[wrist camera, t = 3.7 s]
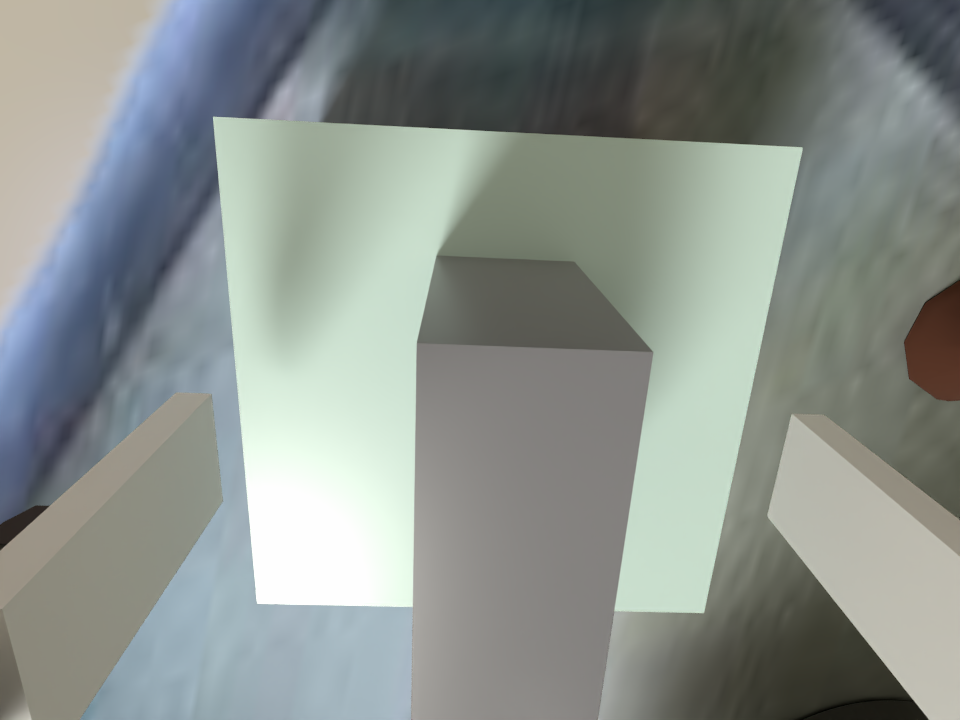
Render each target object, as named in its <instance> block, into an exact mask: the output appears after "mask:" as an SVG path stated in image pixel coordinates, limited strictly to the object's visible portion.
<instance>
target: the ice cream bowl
mask: <svg viewBox="0 0 960 720" xmlns="http://www.w3.org/2000/svg"><path fill="white" fill-rule="evenodd" d="M904 344H905V352H906V359H907V366H908V374H909V379H910V380H912V381H913V382H914V383H916V384H917V385H918V386H920V387H921V388H922V389H924V390H925V391H926V392H928V393H929V394H931V395H932V396H933V397H935V398H936V399H939V400H946V401H957V400H960V280H959V281H958V282H956V283H955V284H953V285H952V286H950V287H949V288H947V289H946V290H944V291H943V292H941V293H940V294H938V295H937V296H935V297H934V298H932V299H931V300H929V301H928V302H926V303H925V304H924V306H923V308H922V310H921V312H920V314H919V316H918V317H917V319H916V321H915V323H914V325H913V327H912V329H911V330H910V332H909V334H908V336H907V338H906V340H905V342H904Z"/></svg>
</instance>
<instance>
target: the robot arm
mask: <svg viewBox="0 0 960 720" xmlns="http://www.w3.org/2000/svg"><path fill="white" fill-rule="evenodd" d="M222 502H223V497H222V488H221V479H220V469H219V460H218V450H217V441H216V432H215V422H214V413H213V404H212V394H202V393H175V394H174V395H173V396H172V397H171V398H170V399H169V400H167V401H166V402H165V403H164V404H163V405H162V406H161V407H160V408H159V409H157V410H156V411H155V412H154V413H153V414H152V415H151V416H150V417H149V418H147V419H146V420H145V421H144V422H143V423H142V424H141V425H140V426H138V427H137V428H136V429H135V430H134V431H133V432H132V433H131V434H130V435H128V436H127V437H126V438H125V439H124V440H123V441H122V442H121V443H120V444H118V445H117V446H116V447H115V448H114V449H113V450H112V451H111V452H110V453H108V454H107V455H106V456H105V457H104V458H103V459H102V460H101V461H99V462H98V463H97V464H96V465H95V466H94V467H93V468H92V469H91V470H89V471H88V472H87V473H86V474H85V475H84V476H83V477H82V478H81V479H79V480H78V481H77V482H76V483H75V484H74V485H73V486H72V487H71V488H69V489H68V490H67V491H66V492H65V493H64V494H63V495H62V496H60V497H59V498H58V499H57V500H56V501H55V502H54V503H53V504H52V505H50V506H34V507H32V508H30V509H28V510H26V511H24V512H22V513H21V514H19V515H17V516H15V517H13V518H11V519H9V520H7V521H5V522H3V523H2V524H1V525H0V720H80V718H81V717H82V715H83V714H84V712H85V711H86V709H87V708H88V706H89V704H90V703H91V701H92V700H93V698H94V697H95V695H96V694H97V692H98V691H99V689H100V688H101V686H102V685H103V683H104V682H105V680H106V679H107V677H108V676H109V674H110V672H111V671H112V669H113V668H114V666H115V665H116V663H117V662H118V660H119V659H120V657H121V656H122V654H123V653H124V651H125V650H126V648H127V647H128V645H129V644H130V642H131V641H132V639H133V637H134V636H135V634H136V633H137V631H138V630H139V628H140V627H141V625H142V624H143V622H144V621H145V619H146V618H147V616H148V615H149V613H150V612H151V610H152V609H153V607H154V605H155V604H156V602H157V601H158V599H159V598H160V596H161V595H162V593H163V592H164V590H165V589H166V587H167V586H168V584H169V583H170V581H171V580H172V578H173V577H174V575H175V573H176V572H177V570H178V569H179V567H180V566H181V564H182V563H183V561H184V560H185V558H186V557H187V555H188V554H189V552H190V551H191V549H192V548H193V546H194V545H195V543H196V541H197V540H198V538H199V537H200V535H201V534H202V532H203V531H204V529H205V528H206V526H207V525H208V523H209V522H210V520H211V519H212V517H213V516H214V514H215V513H216V511H217V509H218V508H219V506H220V505H221V503H222ZM767 517H768V518H769V519H770V520H771V522H772V523H773V524H774V525H775V527H776V528H777V529H778V530H779V532H780V533H781V534H782V536H783V537H784V538H785V539H786V541H787V542H788V543H789V544H790V546H791V547H792V548H793V549H794V551H795V552H796V553H797V554H798V556H799V557H800V558H801V559H802V561H803V562H804V563H805V564H806V566H807V567H808V568H809V569H810V571H811V572H812V573H813V574H814V576H815V577H816V578H817V579H818V581H819V582H820V583H821V585H822V586H823V587H824V588H825V590H826V591H827V592H828V593H829V595H830V596H831V597H832V598H833V600H834V601H835V602H836V603H837V605H838V606H839V607H840V608H841V610H842V611H843V612H844V613H845V615H846V616H847V617H848V618H849V620H850V621H851V622H852V623H853V625H854V626H855V627H856V628H857V630H858V631H859V632H860V634H861V635H862V636H863V637H864V639H865V640H866V641H867V642H868V644H869V645H870V646H871V647H872V649H873V650H874V651H875V652H876V654H877V655H878V656H879V657H880V659H881V660H882V661H883V662H884V664H885V665H886V666H887V667H888V669H889V670H890V671H891V672H892V674H893V675H894V676H895V678H896V679H897V680H898V681H899V683H900V684H901V685H902V686H903V688H904V689H905V690H906V691H907V693H908V694H909V695H910V696H911V698H912V699H913V700H914V701H915V702H908V701H894V700H889V701H870V702H862V703H856V704H850V705H846V706H841V707H837V708H834V709H830V710H827V711H824V712H821V713H818V714H815V715H813V716H811V717H808V718H806V719H804V720H960V520H959V519H958V518H957V517H955V516H954V515H953V514H951V513H950V512H949V511H948V510H946V509H945V508H944V507H942V506H941V505H940V504H939V503H937V502H936V501H935V500H933V499H932V498H931V497H929V496H928V495H927V494H926V493H924V492H923V491H922V490H920V489H919V488H918V487H917V486H915V485H914V484H913V483H911V482H910V481H909V480H908V479H906V478H905V477H904V476H902V475H901V474H900V473H899V472H897V471H896V470H895V469H893V468H892V467H891V466H890V465H888V464H887V463H886V462H884V461H883V460H882V459H881V458H879V457H878V456H877V455H875V454H874V453H873V452H872V451H870V450H869V449H868V448H866V447H865V446H864V445H863V444H861V443H860V442H859V441H857V440H856V439H855V438H854V437H852V436H851V435H850V434H848V433H847V432H846V431H844V430H843V429H842V428H841V427H839V426H838V425H837V424H835V423H834V422H833V421H832V420H830V419H829V418H828V417H826V416H825V415H814V414H792V415H791V419H790V423H789V428H788V432H787V436H786V440H785V444H784V448H783V453H782V457H781V461H780V465H779V469H778V473H777V478H776V482H775V486H774V490H773V494H772V498H771V502H770V507H769V511H768V515H767Z"/></svg>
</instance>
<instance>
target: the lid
mask: <svg viewBox="0 0 960 720" xmlns="http://www.w3.org/2000/svg"><path fill="white" fill-rule="evenodd" d="M213 122H214V133H215V144H216V155H217V166H218V177H219V188H220V199H221V210H222V221H223V232H224V243H225V254H226V265H227V276H228V288H229V299H230V310H231V321H232V332H233V343H234V354H235V365H236V376H237V387H238V398H239V409H240V420H241V431H242V442H243V453H244V464H245V475H246V486H247V497H248V508H249V519H250V530H251V541H252V552H253V563H254V574H255V585H256V596H257V604H301V605H348V606H395V607H413V627H412V696H411V720H598V715H599V708H600V702H601V695H602V689H603V682H604V675H605V669H606V662H607V656H608V649H609V642H610V636H611V629H612V623H613V616H614V611H631V612H678V613H704V610H705V606H706V601H707V596H708V592H709V587H710V582H711V577H712V573H713V568H714V563H715V559H716V554H717V549H718V545H719V540H720V535H721V530H722V526H723V521H724V516H725V512H726V507H727V502H728V498H729V493H730V488H731V483H732V479H733V474H734V469H735V465H736V460H737V455H738V451H739V446H740V441H741V436H742V432H743V427H744V422H745V418H746V413H747V408H748V403H749V399H750V394H751V389H752V385H753V380H754V375H755V371H756V366H757V361H758V356H759V352H760V347H761V342H762V338H763V333H764V328H765V324H766V319H767V314H768V309H769V305H770V300H771V295H772V291H773V286H774V281H775V277H776V272H777V267H778V262H779V258H780V253H781V248H782V244H783V239H784V234H785V230H786V225H787V220H788V215H789V211H790V206H791V201H792V197H793V192H794V187H795V183H796V178H797V173H798V168H799V164H800V159H801V154H802V150H803V147H785V146H765V145H746V144H727V143H707V142H688V141H669V140H650V139H630V138H611V137H592V136H572V135H553V134H534V133H515V132H495V131H476V130H457V129H437V128H418V127H399V126H380V125H360V124H341V123H322V122H302V121H283V120H264V119H244V118H225V117H213Z"/></svg>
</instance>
